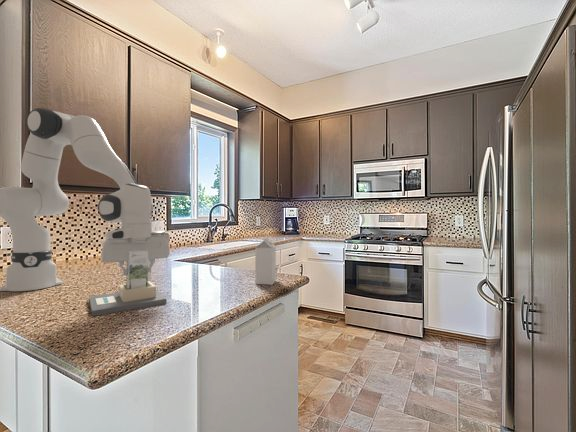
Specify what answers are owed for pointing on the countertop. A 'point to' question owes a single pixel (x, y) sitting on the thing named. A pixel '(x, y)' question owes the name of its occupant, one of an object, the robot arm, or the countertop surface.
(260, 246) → the milk carton
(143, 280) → the syrup box
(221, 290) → the countertop surface
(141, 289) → the holder board
